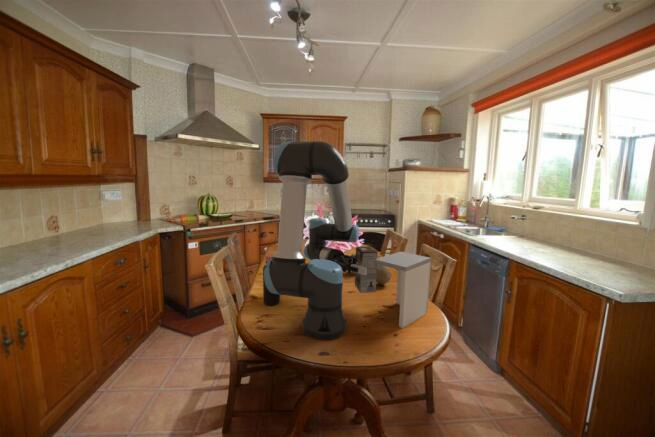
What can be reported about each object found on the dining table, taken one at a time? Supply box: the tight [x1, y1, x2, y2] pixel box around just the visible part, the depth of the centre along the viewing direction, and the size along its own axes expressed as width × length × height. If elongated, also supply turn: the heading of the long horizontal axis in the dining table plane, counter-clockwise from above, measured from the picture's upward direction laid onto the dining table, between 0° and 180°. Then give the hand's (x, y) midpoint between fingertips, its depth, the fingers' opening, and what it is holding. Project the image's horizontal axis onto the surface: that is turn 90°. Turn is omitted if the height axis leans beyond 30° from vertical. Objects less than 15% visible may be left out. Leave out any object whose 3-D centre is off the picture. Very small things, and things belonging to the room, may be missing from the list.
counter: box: [375, 251, 432, 329], centre depth 115 cm, size 18×13×22 cm
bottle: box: [262, 253, 281, 307], centre depth 123 cm, size 7×7×20 cm
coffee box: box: [354, 245, 378, 294], centre depth 118 cm, size 9×6×16 cm
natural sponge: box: [376, 266, 393, 286], centre depth 146 cm, size 9×9×10 cm
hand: (374, 268), depth 114 cm, fingers closed on coffee box, 10 cm apart
